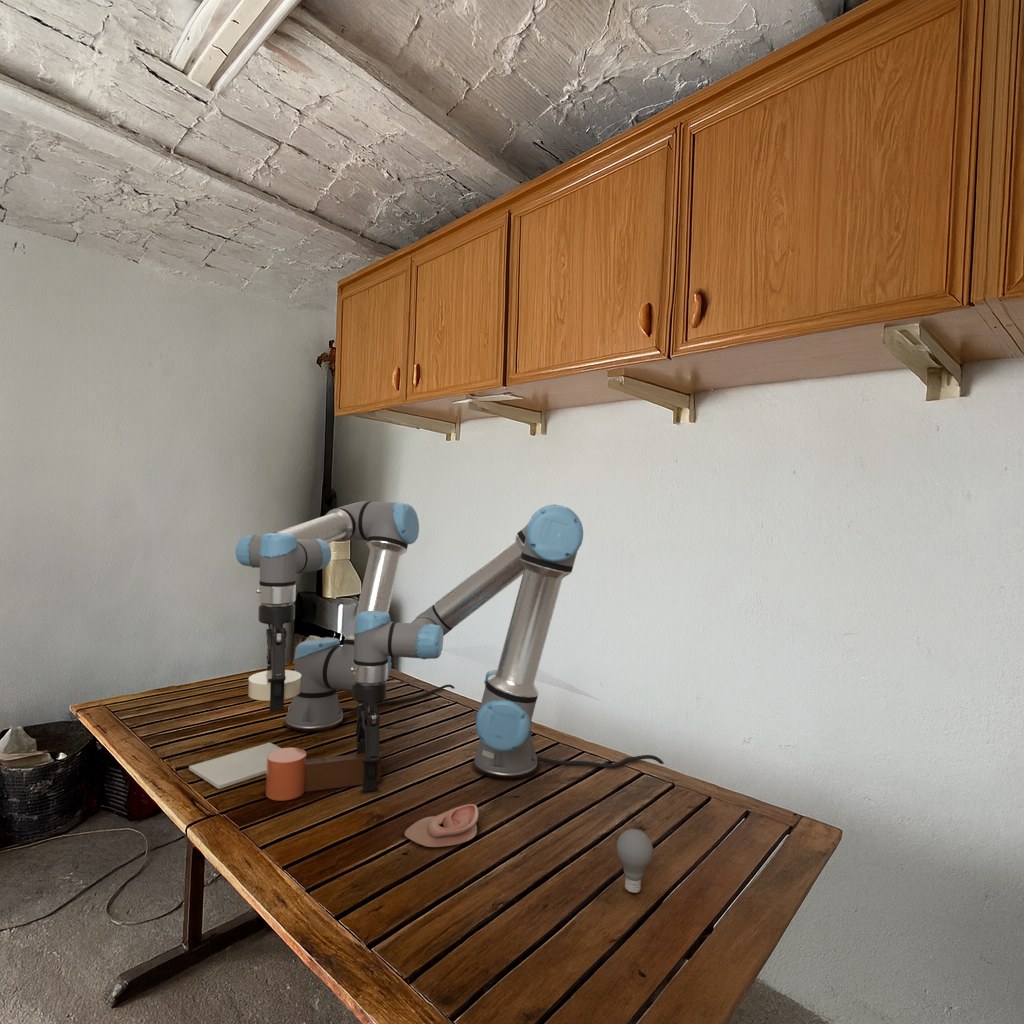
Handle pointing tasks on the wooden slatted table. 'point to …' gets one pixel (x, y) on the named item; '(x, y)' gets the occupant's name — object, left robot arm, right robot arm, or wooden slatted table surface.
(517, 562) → the right robot arm
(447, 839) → the anatomical model
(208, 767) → the grey mat
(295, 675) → the cap
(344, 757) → the orange handled cylinder
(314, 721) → the left robot arm
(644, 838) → the light bulb
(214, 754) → the wooden slatted table surface
